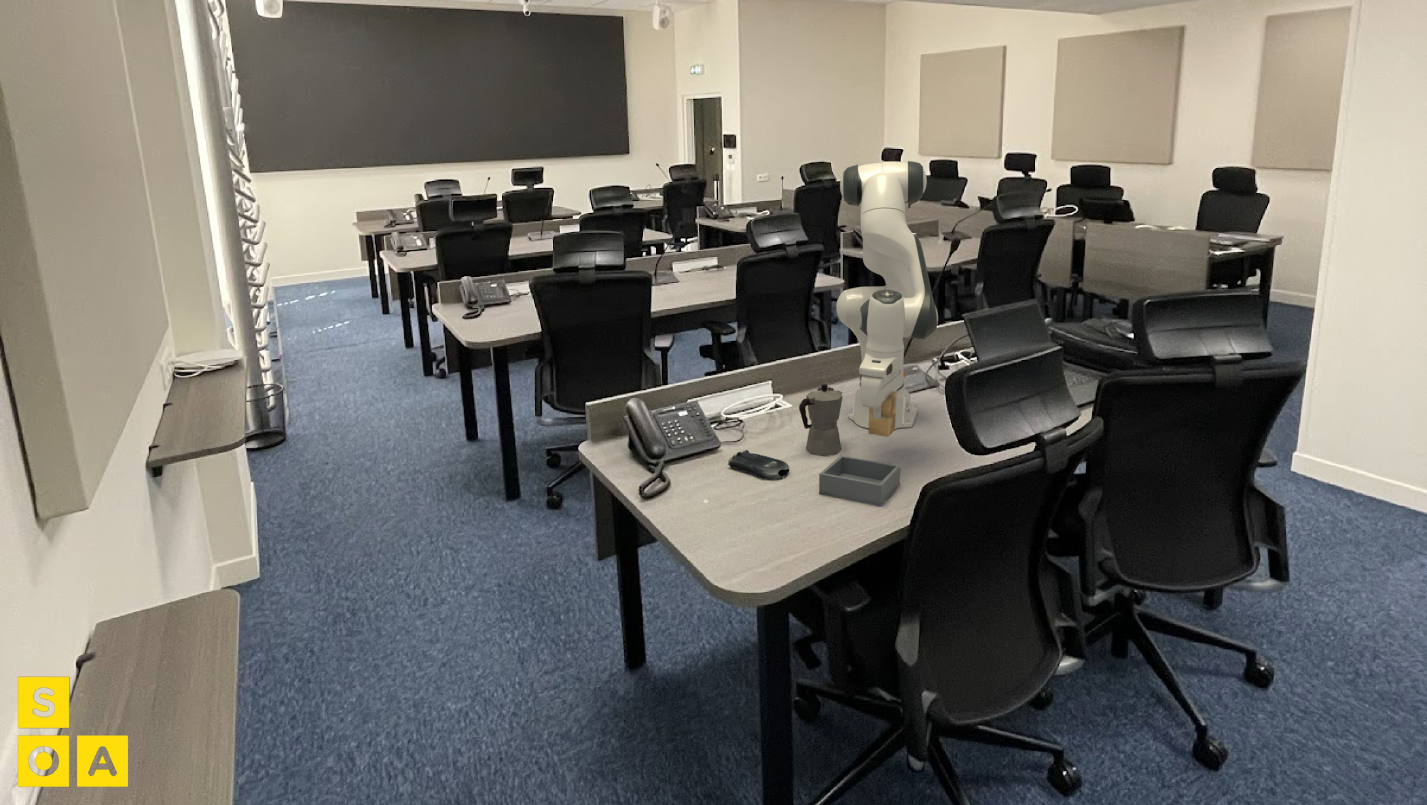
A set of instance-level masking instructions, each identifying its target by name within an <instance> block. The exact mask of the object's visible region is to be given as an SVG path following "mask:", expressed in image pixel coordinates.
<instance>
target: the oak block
mask: <svg viewBox="0 0 1427 805" xmlns="http://www.w3.org/2000/svg"><path fill="white" fill-rule="evenodd" d="M896 395H897V392H895V391H894V392H893V393H891V394H890V395H889V396H888V397H887V399H886V400H885V401H884V402H883V403H882V406H881V411H883V412H882V417H881V418H880V419H874V418H873V410H872V408H869V428H867V429H868V431H867V432H868V435H872V436H873V435H874V436H881V437H884V438H885V437H886V438H888V437H889V436H890V435H892V434H893V433H895V432H894V431H896V429H895V417H896Z"/></svg>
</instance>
